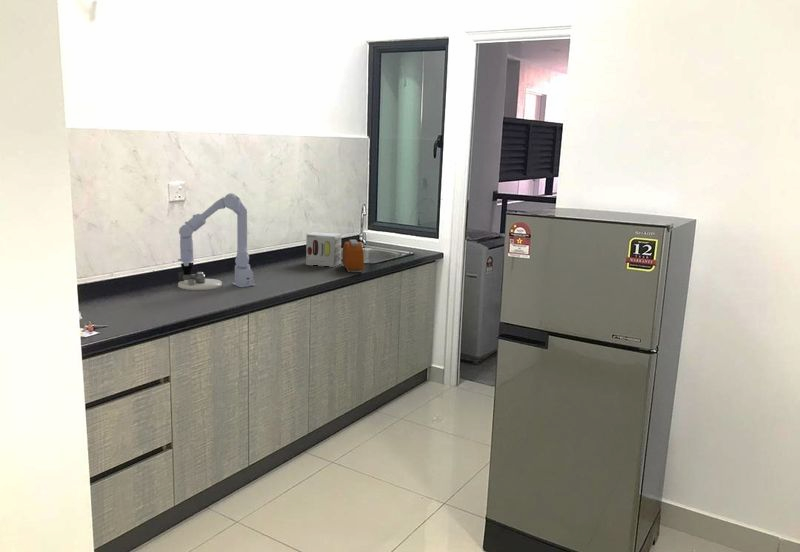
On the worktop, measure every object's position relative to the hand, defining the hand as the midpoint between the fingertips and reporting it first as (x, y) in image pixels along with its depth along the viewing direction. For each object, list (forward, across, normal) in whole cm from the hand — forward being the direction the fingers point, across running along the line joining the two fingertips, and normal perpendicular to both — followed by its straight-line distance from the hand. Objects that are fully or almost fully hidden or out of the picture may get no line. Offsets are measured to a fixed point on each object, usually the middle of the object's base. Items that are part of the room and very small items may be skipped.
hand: (187, 278), depth 309 cm
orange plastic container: (+4, -34, +86) cm, 93 cm away
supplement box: (+4, -49, +72) cm, 87 cm away
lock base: (+3, +2, +6) cm, 7 cm away
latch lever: (+2, +2, +2) cm, 3 cm away
